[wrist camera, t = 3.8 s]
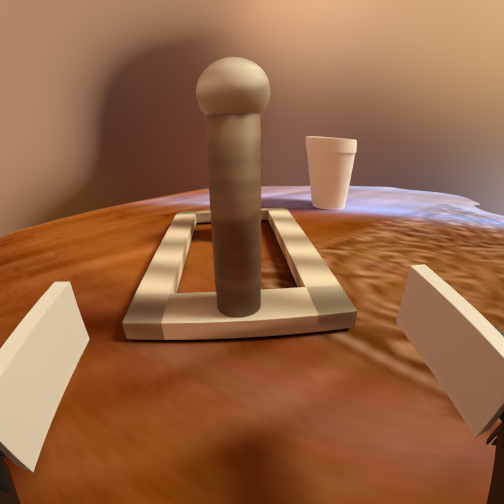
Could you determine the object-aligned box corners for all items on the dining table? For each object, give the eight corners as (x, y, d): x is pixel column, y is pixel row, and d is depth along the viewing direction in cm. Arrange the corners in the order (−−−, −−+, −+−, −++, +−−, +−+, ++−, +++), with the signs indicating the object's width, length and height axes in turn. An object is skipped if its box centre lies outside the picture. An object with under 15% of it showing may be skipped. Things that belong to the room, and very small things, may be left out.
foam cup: (354, 214, 50) (359, 140, 44) (303, 210, 51) (305, 136, 46) (349, 201, 58) (353, 139, 53) (305, 198, 60) (307, 136, 55)
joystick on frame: (354, 328, 21) (379, 63, 13) (126, 340, 20) (85, 69, 12) (285, 216, 47) (286, 100, 39) (178, 221, 45) (171, 104, 38)
